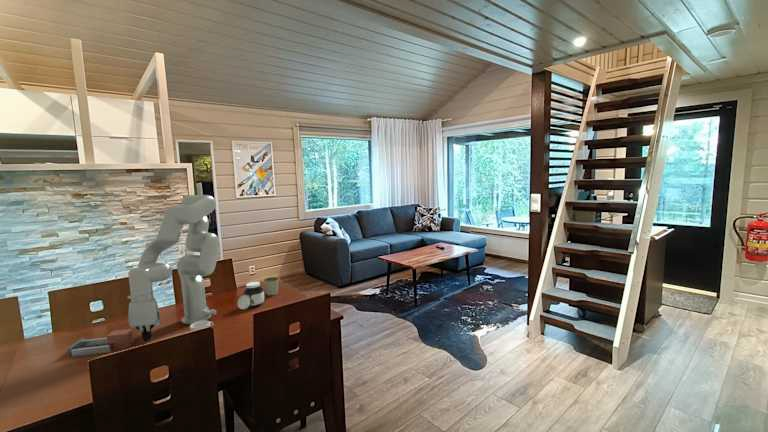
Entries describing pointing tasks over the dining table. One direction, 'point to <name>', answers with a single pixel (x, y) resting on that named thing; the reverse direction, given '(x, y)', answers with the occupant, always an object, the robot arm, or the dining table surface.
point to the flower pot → (271, 285)
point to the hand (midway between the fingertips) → (147, 339)
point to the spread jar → (251, 296)
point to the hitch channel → (79, 346)
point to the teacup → (200, 325)
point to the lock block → (120, 338)
